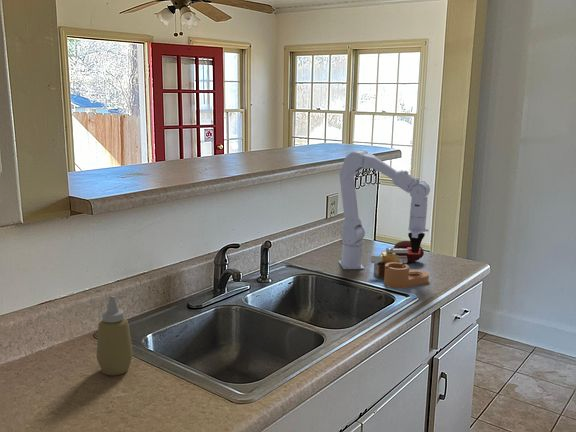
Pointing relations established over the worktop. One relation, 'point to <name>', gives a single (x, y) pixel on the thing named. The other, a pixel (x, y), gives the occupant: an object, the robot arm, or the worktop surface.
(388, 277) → the bracket
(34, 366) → the worktop surface
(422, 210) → the robot arm
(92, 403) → the worktop surface
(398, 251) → the valve lever
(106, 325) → the squeeze bottle
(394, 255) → the brass valve
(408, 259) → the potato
